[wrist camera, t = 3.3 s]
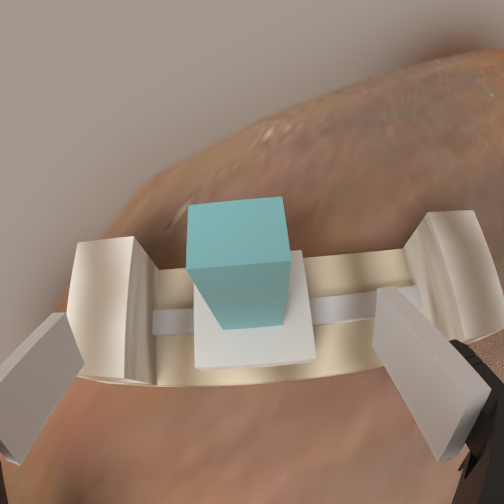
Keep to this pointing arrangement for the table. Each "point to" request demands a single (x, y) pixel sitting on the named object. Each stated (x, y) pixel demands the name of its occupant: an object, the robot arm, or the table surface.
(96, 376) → the rail board
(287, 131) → the table surface
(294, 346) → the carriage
